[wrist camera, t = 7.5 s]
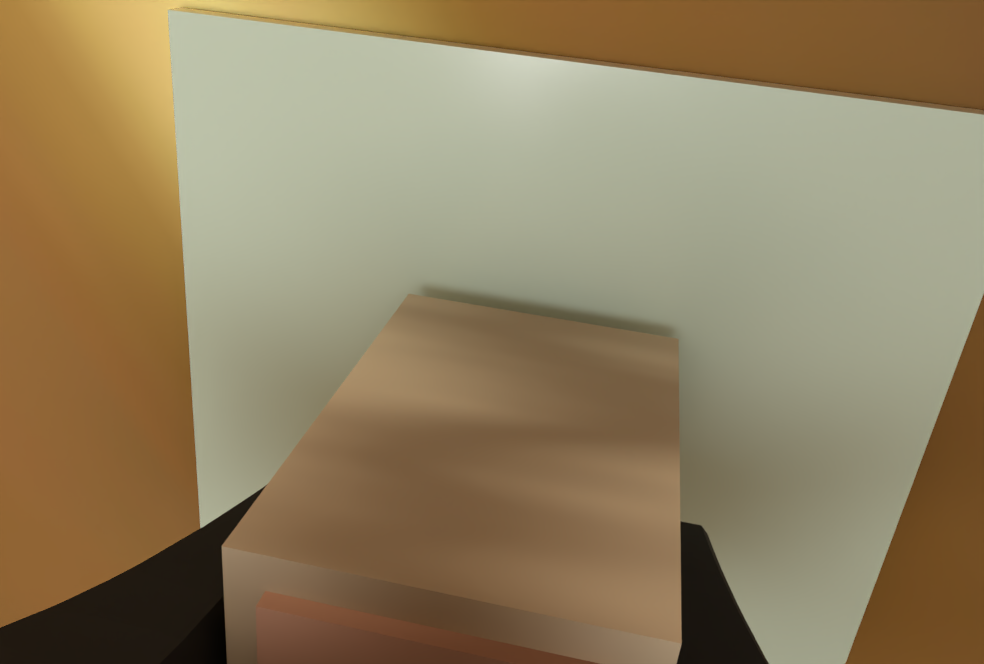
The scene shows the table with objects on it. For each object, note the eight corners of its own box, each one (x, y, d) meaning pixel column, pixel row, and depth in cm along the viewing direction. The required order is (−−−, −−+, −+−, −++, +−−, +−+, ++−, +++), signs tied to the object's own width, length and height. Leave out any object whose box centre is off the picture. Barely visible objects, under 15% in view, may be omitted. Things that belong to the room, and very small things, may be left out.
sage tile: (1036, 116, 11) (1046, 123, 11) (804, 746, 17) (807, 764, 16) (181, 7, 13) (168, 9, 13) (215, 615, 18) (207, 629, 18)
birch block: (678, 338, 12) (682, 661, 7) (632, 558, 14) (604, 958, 9) (408, 293, 13) (210, 560, 7) (395, 510, 15) (226, 859, 9)
